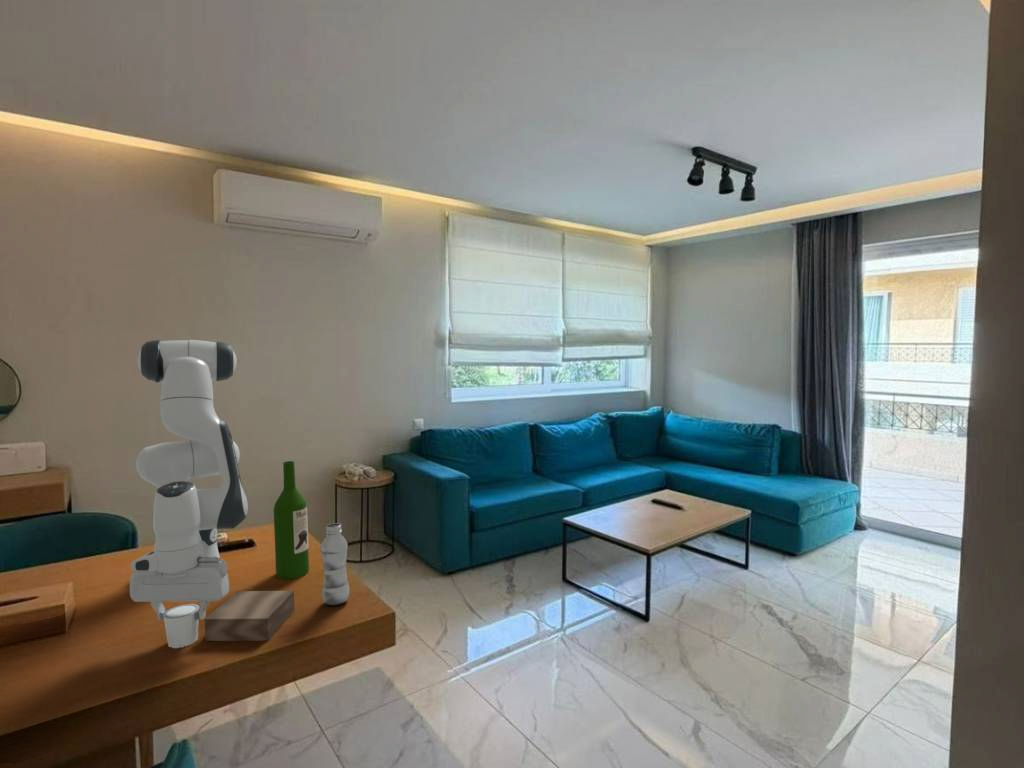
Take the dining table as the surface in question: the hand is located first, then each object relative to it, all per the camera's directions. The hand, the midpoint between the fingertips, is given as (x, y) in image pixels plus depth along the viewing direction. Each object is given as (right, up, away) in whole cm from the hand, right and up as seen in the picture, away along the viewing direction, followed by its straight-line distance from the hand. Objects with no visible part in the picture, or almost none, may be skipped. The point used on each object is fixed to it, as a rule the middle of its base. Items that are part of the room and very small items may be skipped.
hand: (182, 618), depth 119 cm
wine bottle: (+9, -3, +37) cm, 38 cm away
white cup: (0, -5, 0) cm, 5 cm away
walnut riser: (+12, -5, +7) cm, 15 cm away
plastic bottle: (+28, -4, +18) cm, 34 cm away
